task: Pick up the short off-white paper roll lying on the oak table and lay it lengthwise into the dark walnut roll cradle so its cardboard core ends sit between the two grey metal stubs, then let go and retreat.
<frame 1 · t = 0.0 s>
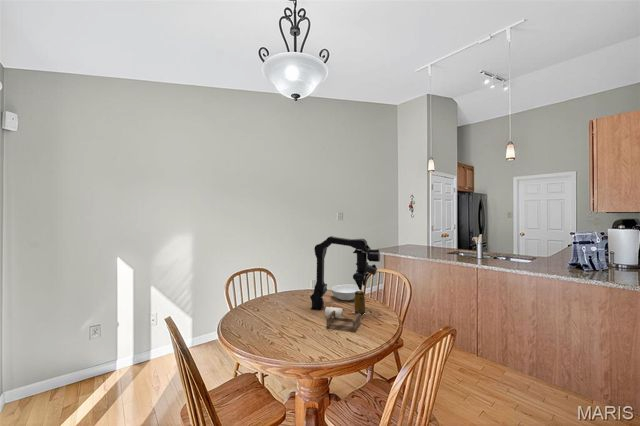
hand: (362, 287, 173), 15 cm above the table, fingers open, 9 cm apart
condiment: (360, 313, 174), on the table
roll: (333, 312, 170), point 2 cm above the table
cradle: (343, 326, 156), on the table
serving bowl: (347, 298, 202), on the table
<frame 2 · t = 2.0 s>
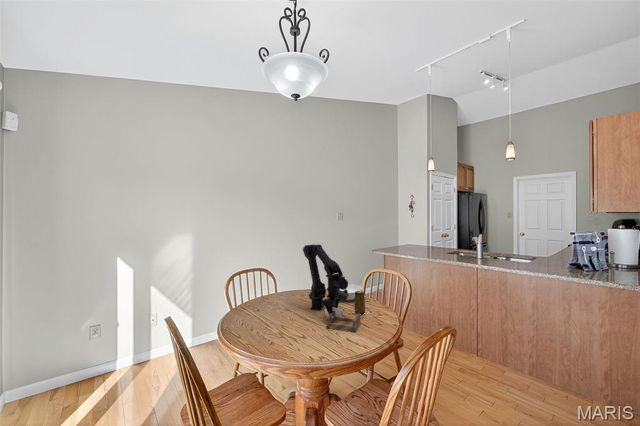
hand: (333, 313, 169), 2 cm above the table, fingers open, 8 cm apart
nothing on the table moved.
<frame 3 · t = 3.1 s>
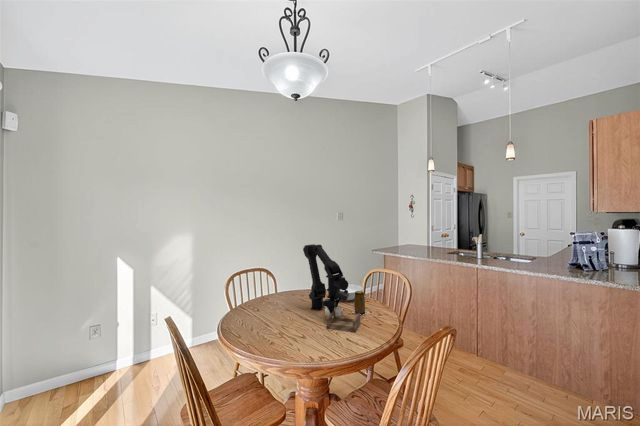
hand: (334, 313, 170), 2 cm above the table, fingers closed on roll, 5 cm apart
roll: (334, 311, 170), point 3 cm above the table, tilted 14°, touching gripper
everything else where it was.
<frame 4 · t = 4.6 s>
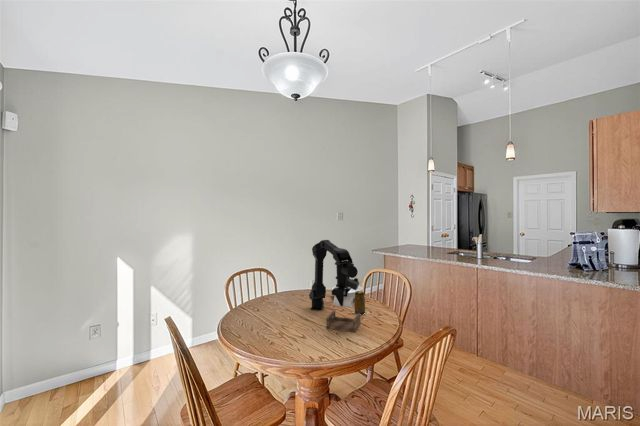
hand: (343, 304, 156), 11 cm above the table, fingers closed on roll, 5 cm apart
roll: (343, 301, 156), point 13 cm above the table, tilted 14°, touching gripper
everything else where it was.
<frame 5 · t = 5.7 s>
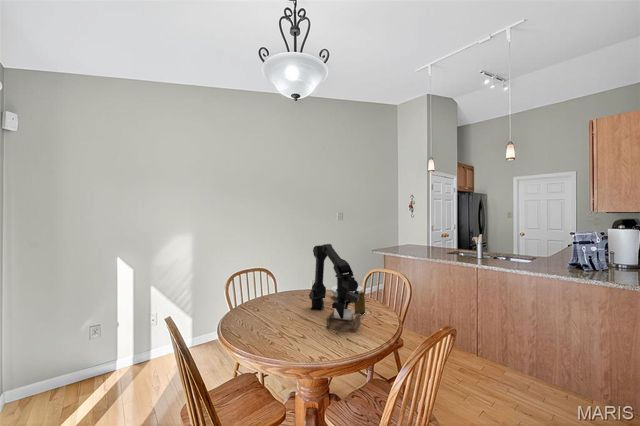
hand: (343, 316, 156), 5 cm above the table, fingers closed on roll, 5 cm apart
roll: (343, 314, 156), point 6 cm above the table, tilted 15°, touching gripper
everything else where it was.
when the fingers open (4 cm above the table, at t = 6.4 s): roll drops 1 cm, resting on cradle.
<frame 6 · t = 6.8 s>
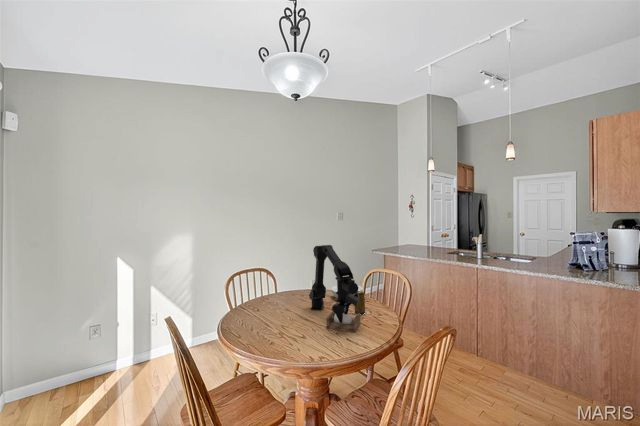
hand: (343, 319, 156), 4 cm above the table, fingers open, 9 cm apart
roll: (343, 319, 156), point 4 cm above the table, tilted 16°, touching cradle
everything else where it was.
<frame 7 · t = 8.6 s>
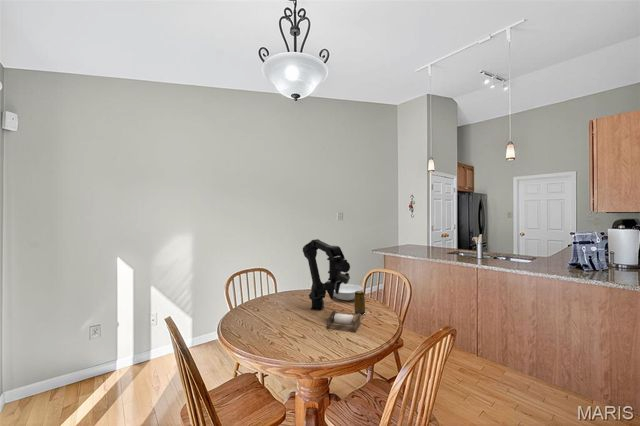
hand: (334, 296, 169), 12 cm above the table, fingers open, 9 cm apart
nothing on the table moved.
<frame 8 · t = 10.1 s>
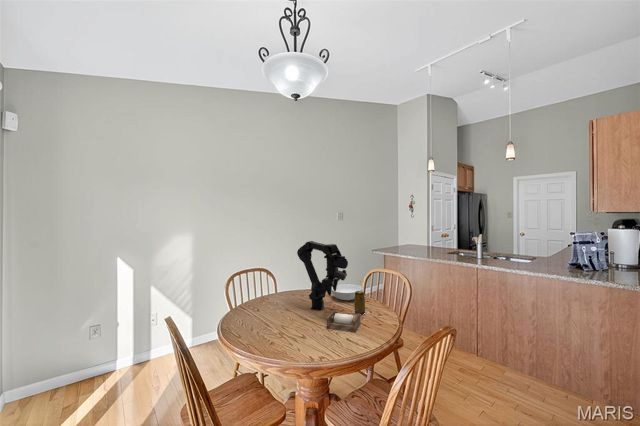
hand: (332, 293, 174), 12 cm above the table, fingers open, 9 cm apart
nothing on the table moved.
at the end: roll inside the target area on the cradle (0.1 cm from its centre), point 3.6 cm above the cradle's base; the gripper is holding nothing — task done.
